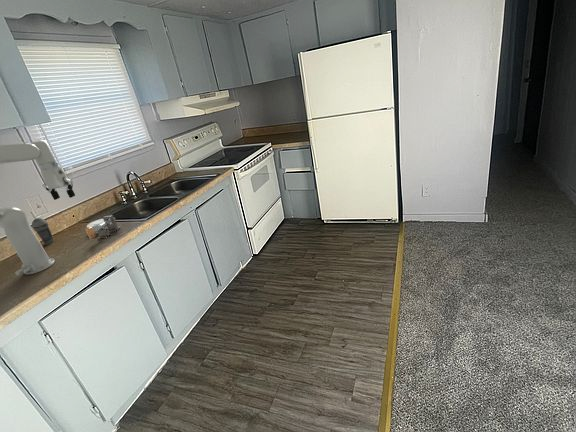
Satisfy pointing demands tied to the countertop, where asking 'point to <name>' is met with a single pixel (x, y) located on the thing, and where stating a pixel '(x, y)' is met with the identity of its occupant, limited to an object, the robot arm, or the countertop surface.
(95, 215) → the countertop surface
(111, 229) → the eye post
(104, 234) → the cradle
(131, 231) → the countertop surface
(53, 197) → the robot arm
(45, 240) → the beverage cup
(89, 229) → the hook rod
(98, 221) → the ramekin
